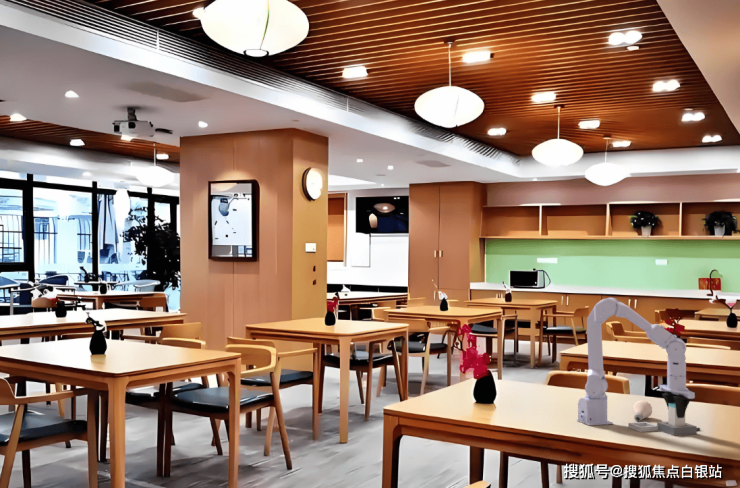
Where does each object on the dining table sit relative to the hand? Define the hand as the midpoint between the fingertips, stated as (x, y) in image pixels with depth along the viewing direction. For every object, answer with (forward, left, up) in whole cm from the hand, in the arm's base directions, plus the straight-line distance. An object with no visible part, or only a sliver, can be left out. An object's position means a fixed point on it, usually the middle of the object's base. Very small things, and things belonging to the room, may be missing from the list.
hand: (676, 416), depth 229 cm
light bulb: (0, +19, -6) cm, 20 cm away
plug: (0, 0, -3) cm, 3 cm away
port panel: (+2, 0, -5) cm, 6 cm away
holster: (-9, +6, -5) cm, 12 cm away
